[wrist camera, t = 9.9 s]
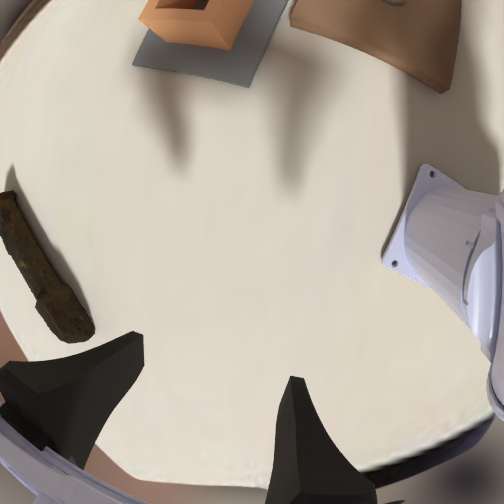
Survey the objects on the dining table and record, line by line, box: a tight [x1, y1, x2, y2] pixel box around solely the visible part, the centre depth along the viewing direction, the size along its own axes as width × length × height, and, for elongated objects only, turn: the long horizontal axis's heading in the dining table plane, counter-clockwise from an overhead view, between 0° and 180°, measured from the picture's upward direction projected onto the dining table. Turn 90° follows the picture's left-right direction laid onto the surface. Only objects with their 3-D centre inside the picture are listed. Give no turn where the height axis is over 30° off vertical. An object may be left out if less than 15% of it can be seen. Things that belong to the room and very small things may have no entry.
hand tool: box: [0, 190, 95, 344], centre depth 22 cm, size 19×4×5 cm, turn 38°
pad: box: [132, 0, 289, 88], centre depth 15 cm, size 10×10×1 cm
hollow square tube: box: [138, 0, 254, 51], centre depth 13 cm, size 5×5×4 cm
